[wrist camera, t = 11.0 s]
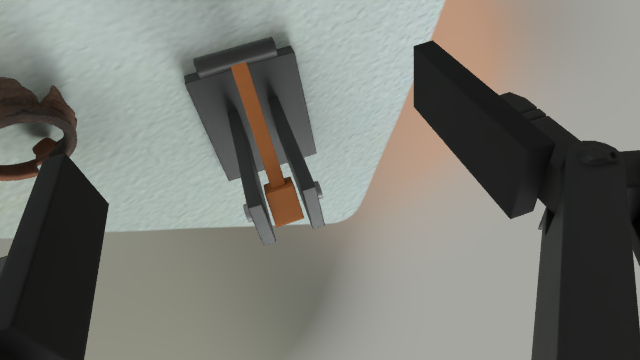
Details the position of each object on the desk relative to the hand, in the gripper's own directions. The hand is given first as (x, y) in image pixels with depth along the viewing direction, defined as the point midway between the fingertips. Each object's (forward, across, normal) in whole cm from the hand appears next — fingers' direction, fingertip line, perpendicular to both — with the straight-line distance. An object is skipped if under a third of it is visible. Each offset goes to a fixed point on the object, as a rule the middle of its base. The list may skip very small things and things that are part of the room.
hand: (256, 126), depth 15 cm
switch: (+12, 0, -9) cm, 15 cm away
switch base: (+22, 0, -13) cm, 25 cm away
